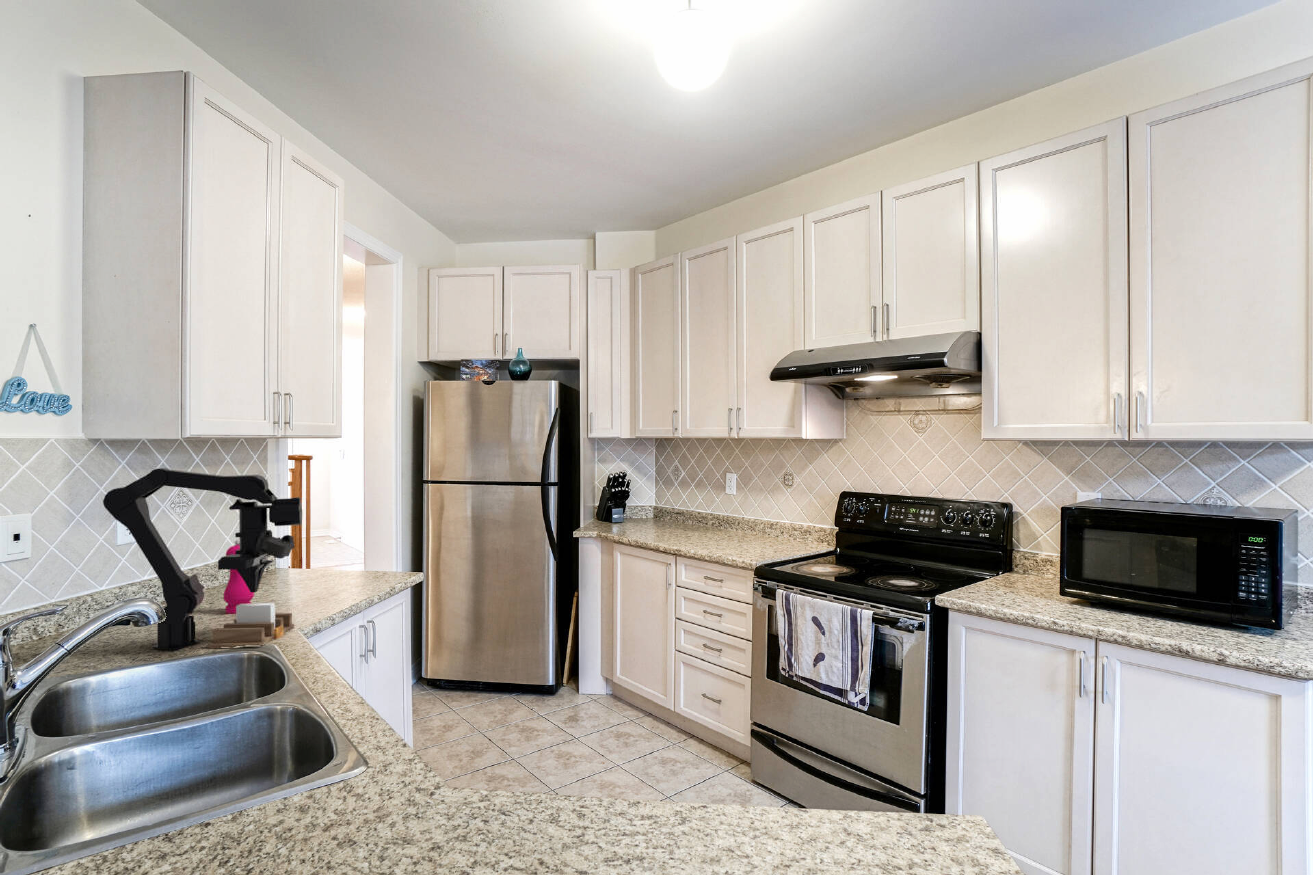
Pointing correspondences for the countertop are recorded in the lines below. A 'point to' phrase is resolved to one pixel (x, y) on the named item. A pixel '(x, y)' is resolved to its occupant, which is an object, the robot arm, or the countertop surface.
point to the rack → (251, 632)
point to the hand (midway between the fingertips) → (253, 592)
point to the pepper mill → (236, 586)
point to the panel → (255, 613)
